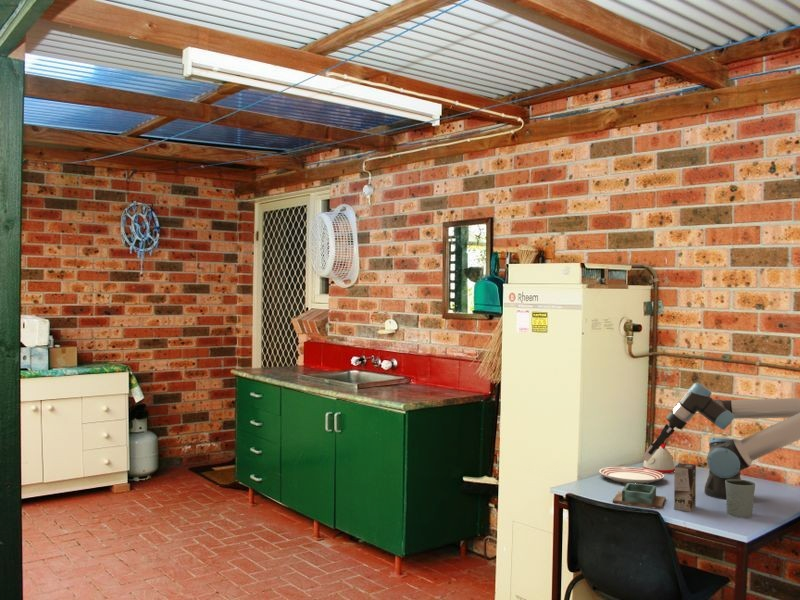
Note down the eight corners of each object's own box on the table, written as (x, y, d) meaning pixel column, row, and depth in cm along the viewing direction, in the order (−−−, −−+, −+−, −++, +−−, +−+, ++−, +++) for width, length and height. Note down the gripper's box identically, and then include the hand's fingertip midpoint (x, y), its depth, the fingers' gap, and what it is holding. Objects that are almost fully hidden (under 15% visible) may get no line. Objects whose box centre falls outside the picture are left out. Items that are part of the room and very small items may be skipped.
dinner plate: (601, 470, 344) (601, 463, 344) (664, 475, 335) (664, 468, 335) (596, 484, 318) (596, 476, 318) (664, 490, 309) (664, 482, 309)
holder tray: (665, 499, 294) (665, 486, 294) (661, 508, 280) (661, 495, 280) (618, 493, 301) (618, 481, 301) (612, 502, 288) (612, 489, 288)
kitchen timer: (658, 474, 335) (658, 441, 335) (636, 468, 348) (637, 436, 348) (681, 472, 341) (681, 439, 341) (659, 466, 354) (659, 434, 354)
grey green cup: (722, 515, 272) (723, 482, 272) (726, 509, 280) (727, 477, 280) (753, 520, 266) (753, 486, 266) (756, 513, 275) (756, 481, 275)
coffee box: (691, 512, 276) (691, 468, 276) (673, 509, 279) (673, 466, 279) (696, 506, 284) (696, 464, 284) (678, 503, 287) (678, 462, 287)
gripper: (674, 406, 309) (642, 444, 314) (668, 414, 286) (634, 455, 292) (689, 418, 306) (657, 456, 311) (685, 427, 284) (650, 468, 289)
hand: (646, 456), depth 302 cm, fingers open, 13 cm apart
